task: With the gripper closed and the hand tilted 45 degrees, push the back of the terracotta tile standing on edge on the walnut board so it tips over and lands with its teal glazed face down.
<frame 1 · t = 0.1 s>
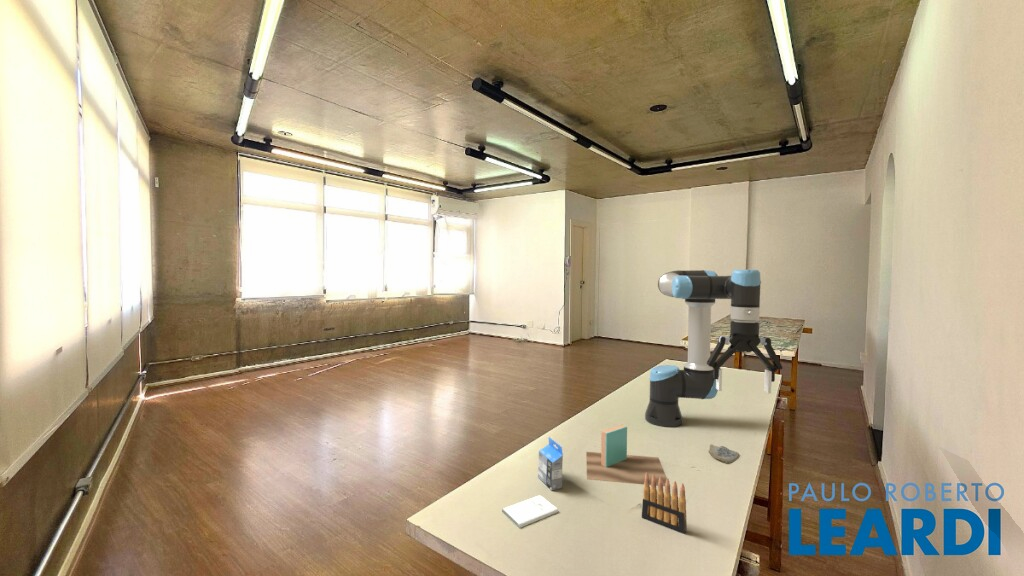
hand: (743, 391, 121), 28 cm above the table, fingers open, 13 cm apart
ammunition clip: (663, 524, 102), on the table
label tape box: (550, 483, 122), on the table
external hard drive: (529, 514, 107), on the table
ceramic fragment: (719, 457, 140), on the table
board: (624, 470, 129), on the table
tile: (614, 461, 133), point 1 cm above the table, touching board
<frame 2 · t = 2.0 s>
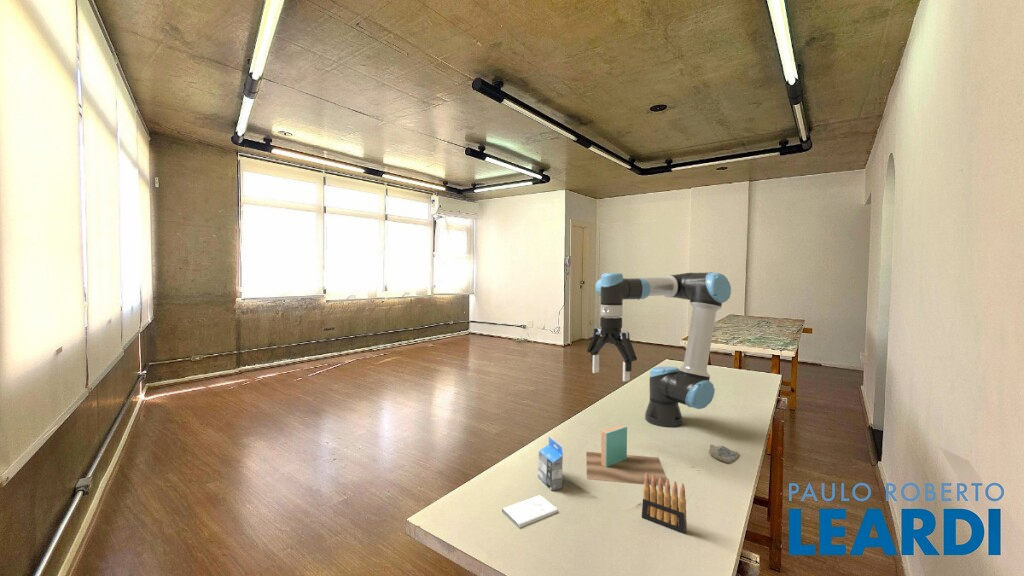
hand: (610, 376, 142), 27 cm above the table, fingers open, 13 cm apart
nothing on the table moved.
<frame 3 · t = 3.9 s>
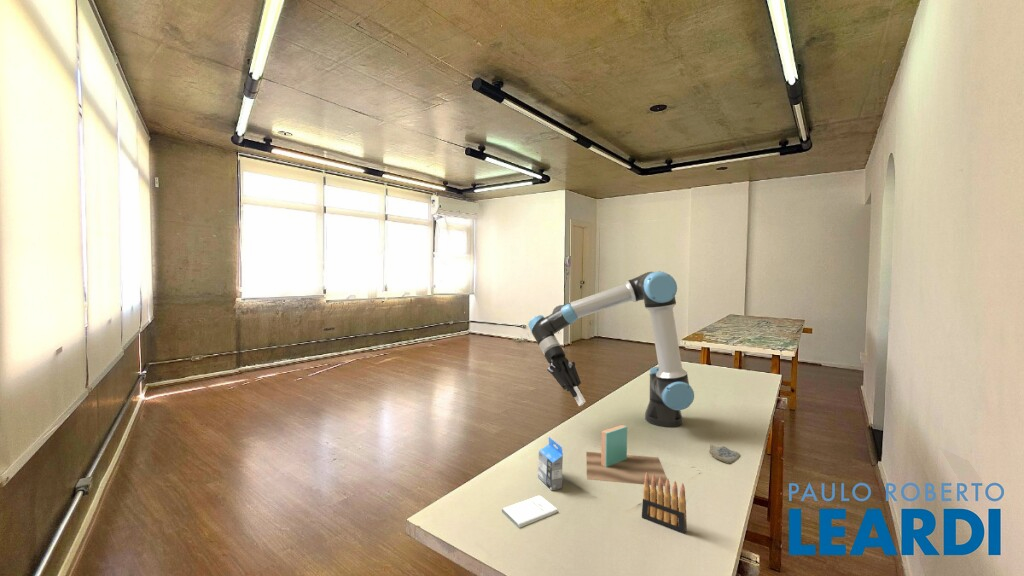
hand: (582, 403, 144), 16 cm above the table, fingers closed
nothing on the table moved.
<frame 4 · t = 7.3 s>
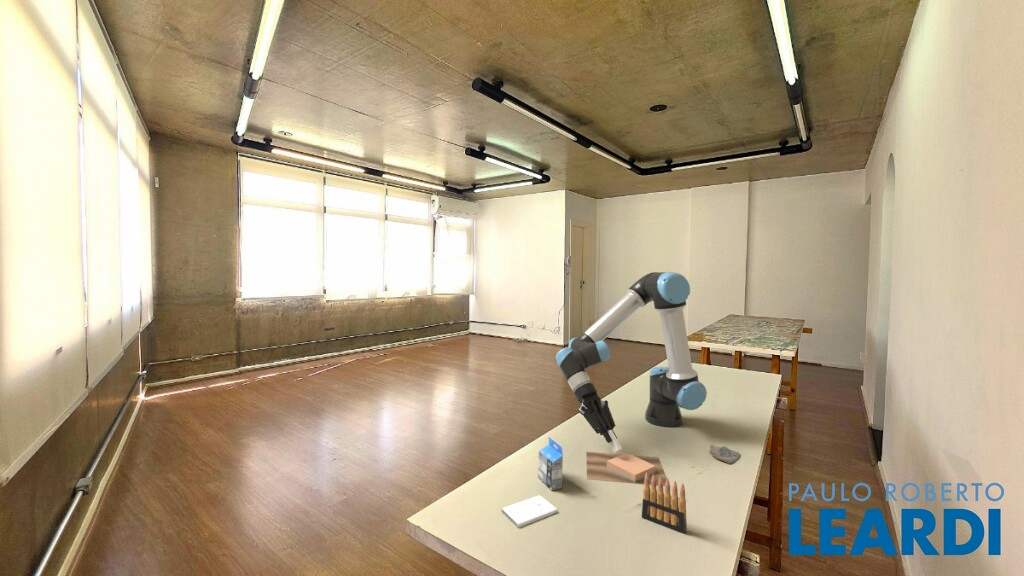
hand: (618, 450, 130), 6 cm above the table, fingers closed
tile: (617, 460, 132), point 2 cm above the table, tilted 90°, touching board
everything else where it was.
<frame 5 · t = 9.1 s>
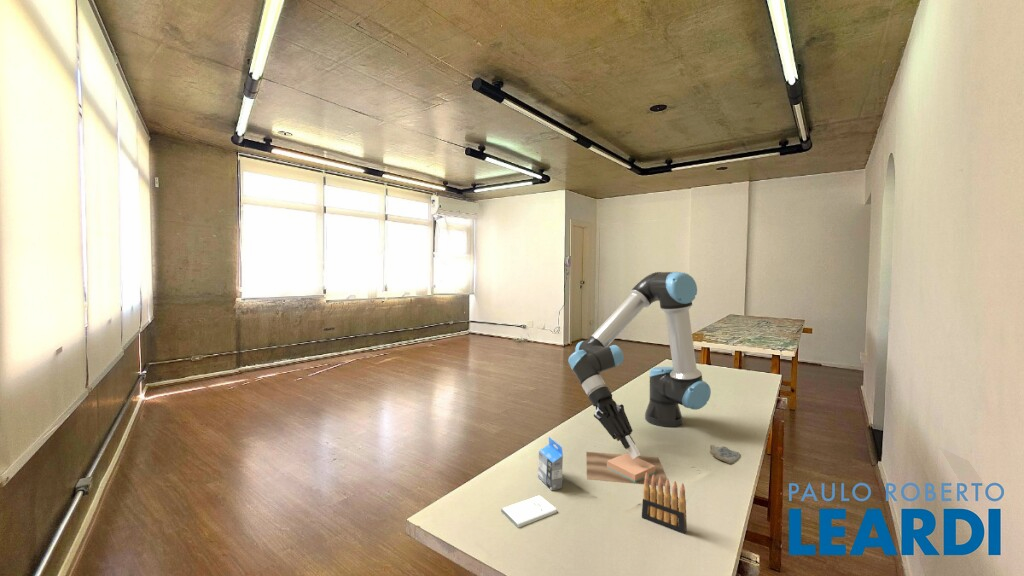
hand: (636, 456, 125), 6 cm above the table, fingers closed
nothing on the table moved.
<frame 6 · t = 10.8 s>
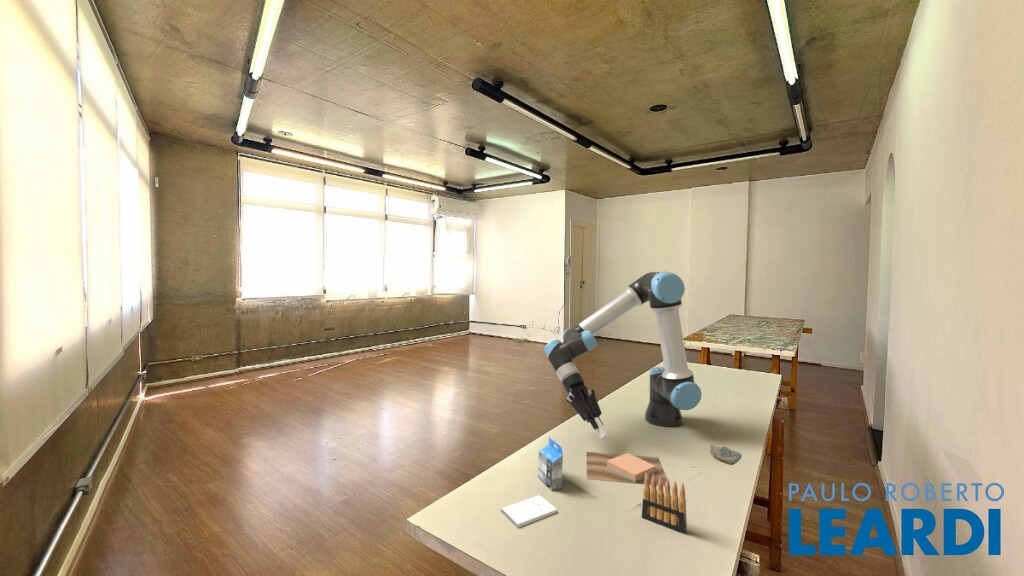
hand: (604, 436, 136), 8 cm above the table, fingers closed
nothing on the table moved.
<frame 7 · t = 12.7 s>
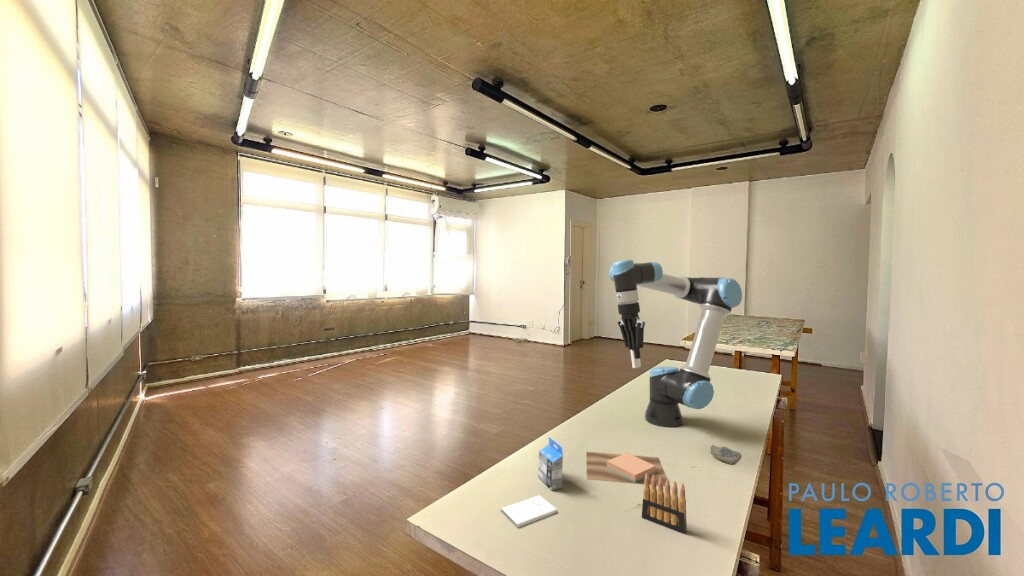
hand: (636, 367, 145), 29 cm above the table, fingers closed
nothing on the table moved.
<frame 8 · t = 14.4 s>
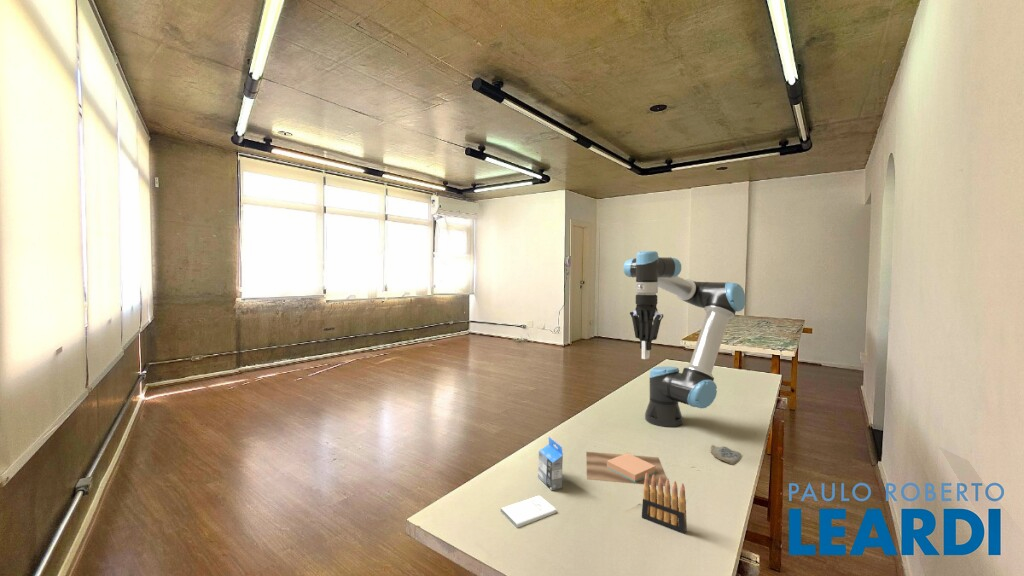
hand: (645, 358, 146), 32 cm above the table, fingers closed
nothing on the table moved.
at the end: tile tilted 90°; tile inside the target area (3.3 cm from its centre), point 2.1 cm above the table; the gripper is holding nothing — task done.
